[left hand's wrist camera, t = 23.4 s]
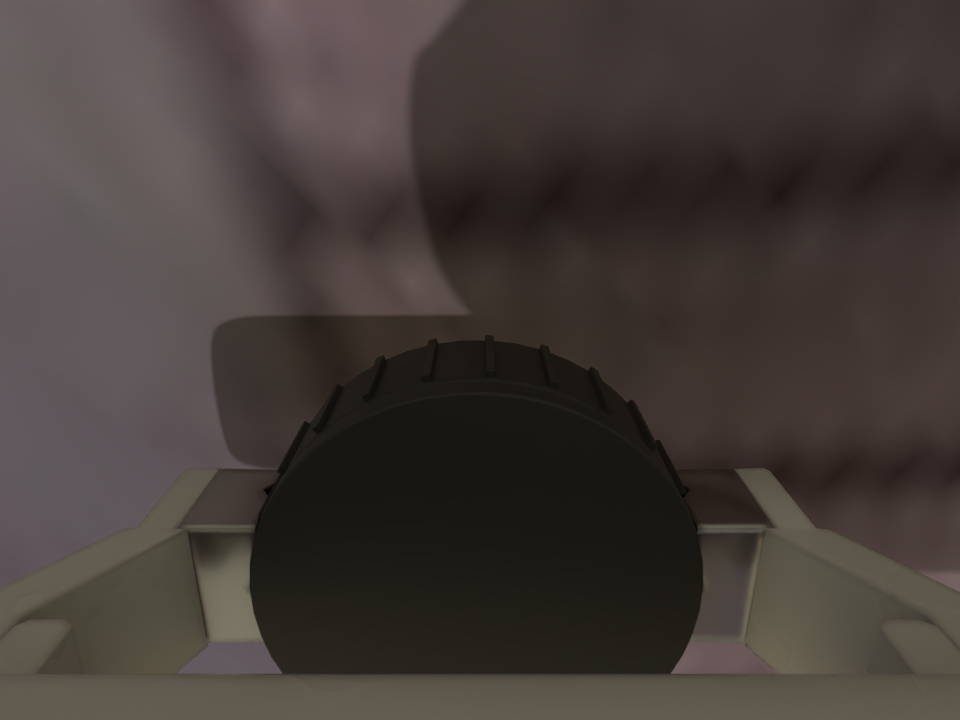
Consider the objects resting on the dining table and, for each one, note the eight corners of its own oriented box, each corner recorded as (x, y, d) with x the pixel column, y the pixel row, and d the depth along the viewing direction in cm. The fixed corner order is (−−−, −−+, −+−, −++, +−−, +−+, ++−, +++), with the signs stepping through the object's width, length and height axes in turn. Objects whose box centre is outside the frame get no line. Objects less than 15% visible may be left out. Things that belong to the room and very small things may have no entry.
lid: (316, 675, 11) (286, 777, 9) (248, 348, 9) (196, 404, 7) (665, 654, 11) (699, 755, 9) (676, 319, 9) (722, 370, 7)
